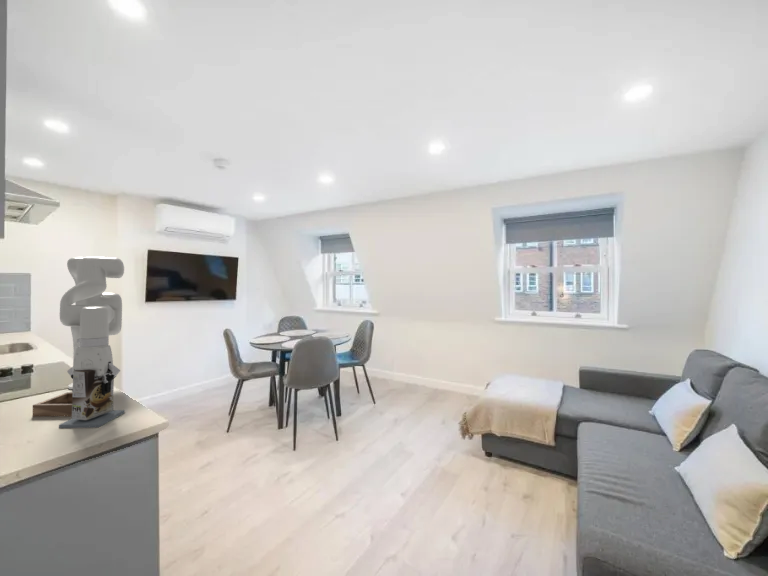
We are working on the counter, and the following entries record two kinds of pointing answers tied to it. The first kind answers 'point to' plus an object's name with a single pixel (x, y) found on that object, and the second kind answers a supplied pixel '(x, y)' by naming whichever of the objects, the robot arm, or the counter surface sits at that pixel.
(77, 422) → the slate mat
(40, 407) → the walnut dock
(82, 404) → the dessert mix box
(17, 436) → the counter surface
